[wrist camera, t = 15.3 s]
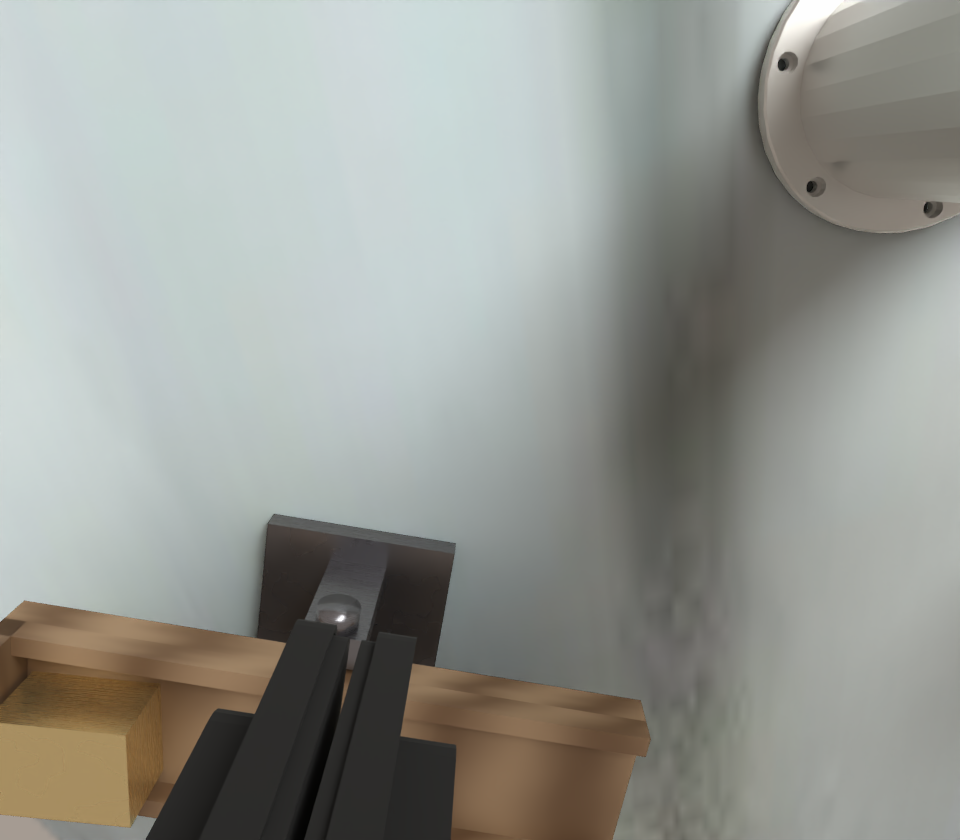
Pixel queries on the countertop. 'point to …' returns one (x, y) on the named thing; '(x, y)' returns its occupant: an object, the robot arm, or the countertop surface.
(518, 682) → the balance beam
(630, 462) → the countertop surface
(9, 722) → the block
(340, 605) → the pivot stand
